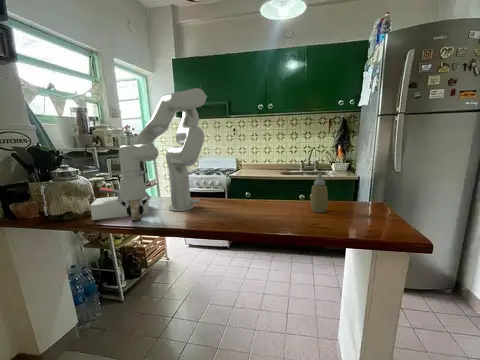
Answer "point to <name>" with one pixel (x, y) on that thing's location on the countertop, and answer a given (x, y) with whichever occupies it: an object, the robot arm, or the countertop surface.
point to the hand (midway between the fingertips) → (135, 214)
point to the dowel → (135, 210)
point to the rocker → (109, 190)
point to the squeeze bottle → (319, 195)
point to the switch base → (111, 208)
